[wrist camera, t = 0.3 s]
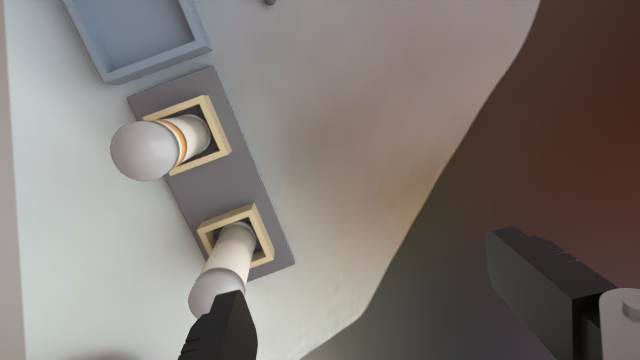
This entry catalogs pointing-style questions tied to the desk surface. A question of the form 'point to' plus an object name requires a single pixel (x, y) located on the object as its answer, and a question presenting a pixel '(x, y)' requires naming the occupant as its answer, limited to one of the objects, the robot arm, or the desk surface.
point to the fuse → (224, 266)
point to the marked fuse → (158, 145)
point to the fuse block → (216, 170)
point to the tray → (137, 35)
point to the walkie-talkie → (270, 2)
